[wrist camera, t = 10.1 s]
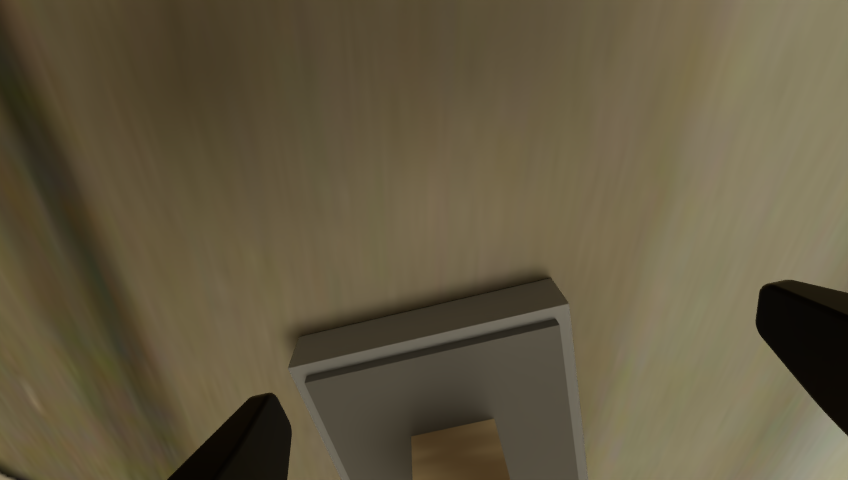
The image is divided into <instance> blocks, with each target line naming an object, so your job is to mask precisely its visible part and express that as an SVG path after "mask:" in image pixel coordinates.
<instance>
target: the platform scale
mask: <svg viewBox="0 0 848 480" xmlns="http://www.w3.org/2000/svg"><path fill="white" fill-rule="evenodd" d="M288 370H289V372H290V374H291V376H292V378H293V380H294V382H295V384H296V386H297V388H298V390H299V393H300V395H301V397H302V399H303V401H304V403H305V405H306V407H307V409H308V411H309V413H310V415H311V417H312V419H313V422H314V424H315V426H316V428H317V430H318V432H319V434H320V436H321V438H322V440H323V442H324V444H325V446H326V449H327V451H328V453H329V455H330V457H331V459H332V461H333V463H334V465H335V467H336V469H337V471H338V473H339V476H340V478H341V480H413V477H412V446H411V436H416V435H420V434H425V433H430V432H434V431H439V430H444V429H448V428H453V427H457V426H462V425H467V424H471V423H476V422H481V421H485V420H490V419H494V420H495V424H496V427H497V431H498V435H499V439H500V442H501V446H502V450H503V454H504V458H505V461H506V465H507V469H508V473H509V477H510V480H588V474H587V465H586V456H585V446H584V437H583V428H582V419H581V410H580V401H579V391H578V382H577V373H576V364H575V355H574V346H573V336H572V327H571V318H570V309H569V303H568V302H567V300H566V299H565V297H564V296H563V294H562V293H561V292H560V290H559V289H558V287H557V286H556V284H555V283H554V281H553V280H552V279H551V278H549V279H545V280H541V281H537V282H532V283H528V284H524V285H519V286H515V287H511V288H507V289H502V290H498V291H494V292H490V293H485V294H481V295H477V296H472V297H468V298H464V299H460V300H455V301H451V302H447V303H442V304H438V305H434V306H430V307H425V308H421V309H417V310H413V311H408V312H404V313H400V314H395V315H391V316H387V317H383V318H378V319H374V320H370V321H365V322H361V323H357V324H353V325H348V326H344V327H340V328H336V329H331V330H327V331H323V332H318V333H314V334H310V335H306V336H301V337H299V339H298V342H297V344H296V347H295V350H294V353H293V356H292V358H291V361H290V364H289V367H288Z"/></svg>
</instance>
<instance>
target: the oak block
mask: <svg viewBox="0 0 848 480" xmlns="http://www.w3.org/2000/svg"><path fill="white" fill-rule="evenodd" d="M411 446H412V477H413V480H510V477H509V473H508V469H507V465H506V461H505V458H504V454H503V450H502V446H501V442H500V439H499V435H498V431H497V427H496V424H495V420H494V419H490V420H485V421H481V422H476V423H471V424H467V425H462V426H457V427H453V428H448V429H444V430H439V431H434V432H430V433H425V434H420V435H416V436H411Z"/></svg>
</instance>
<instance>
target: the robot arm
mask: <svg viewBox="0 0 848 480" xmlns="http://www.w3.org/2000/svg"><path fill="white" fill-rule="evenodd" d="M756 327H757V330H758V332H759V334H760V335H761V337H762V338H763V339H764V340H765V342H766V343H767V344H768V345H769V346H770V348H771V349H772V350H773V351H774V352H775V354H776V355H777V356H778V357H779V358H780V360H781V361H782V362H783V363H784V364H785V366H786V367H787V368H788V369H789V371H790V372H791V373H792V374H793V375H794V377H795V378H796V379H797V380H798V381H799V383H800V384H801V385H802V386H803V387H804V389H805V390H806V391H807V392H808V393H809V395H810V396H811V397H812V398H813V399H814V400H815V402H816V403H817V404H818V405H819V406H820V407H821V408H822V410H823V411H824V412H825V413H826V414H827V415H828V416H829V417H830V418H831V419H832V420H833V421H834V422H835V423H836V424H837V426H838V427H839V428H840V429H841V430H842V431H843V432H844V433H845V434H846V435H847V436H848V293H846V292H842V291H837V290H833V289H829V288H825V287H820V286H816V285H812V284H807V283H803V282H799V281H794V280H783V281H778V282H773V283H769V284H766V285H764V286H763V287H762V288H761V289H760V292H759V299H758V307H757V314H756ZM291 437H292V430H291V425H290V422H289V420H288V418H287V416H286V414H285V412H284V410H283V408H282V406H281V404H280V402H279V400H278V398H277V397H276V395H274V394H273V393H265V394H261V395H256V396H253V397H250V398H249V399H248V400H247V401H246V402H245V403H244V404H243V405H242V406H241V407H240V408H239V409H238V410H237V411H236V412H235V413H234V414H233V415H232V416H231V417H230V418H229V419H228V420H227V421H226V422H225V423H224V424H223V425H222V426H221V427H220V428H219V429H218V430H217V431H216V432H215V433H214V434H213V435H212V436H211V437H210V438H209V439H208V440H207V441H206V442H205V443H204V444H203V445H202V446H200V447H199V448H198V449H197V450H196V451H195V452H194V453H193V454H192V455H191V456H190V457H189V458H188V459H187V460H186V461H185V462H184V463H183V464H182V465H181V466H180V467H179V468H178V469H177V470H176V471H175V472H174V473H173V474H172V475H171V476H170V477H169V478H168V479H167V480H287V476H288V466H289V456H290V447H291Z"/></svg>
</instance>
